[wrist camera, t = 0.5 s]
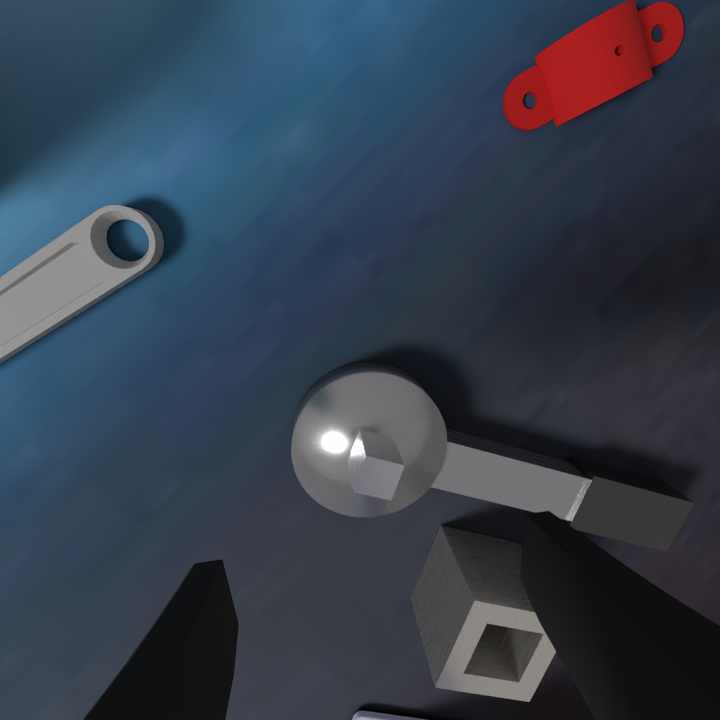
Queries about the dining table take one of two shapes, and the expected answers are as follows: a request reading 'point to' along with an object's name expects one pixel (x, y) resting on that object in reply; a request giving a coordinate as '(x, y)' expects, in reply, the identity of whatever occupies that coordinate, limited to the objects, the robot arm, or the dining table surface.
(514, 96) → the pipe clamp
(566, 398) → the dining table surface
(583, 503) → the ratchet
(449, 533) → the socket
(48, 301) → the adjustable wrench
